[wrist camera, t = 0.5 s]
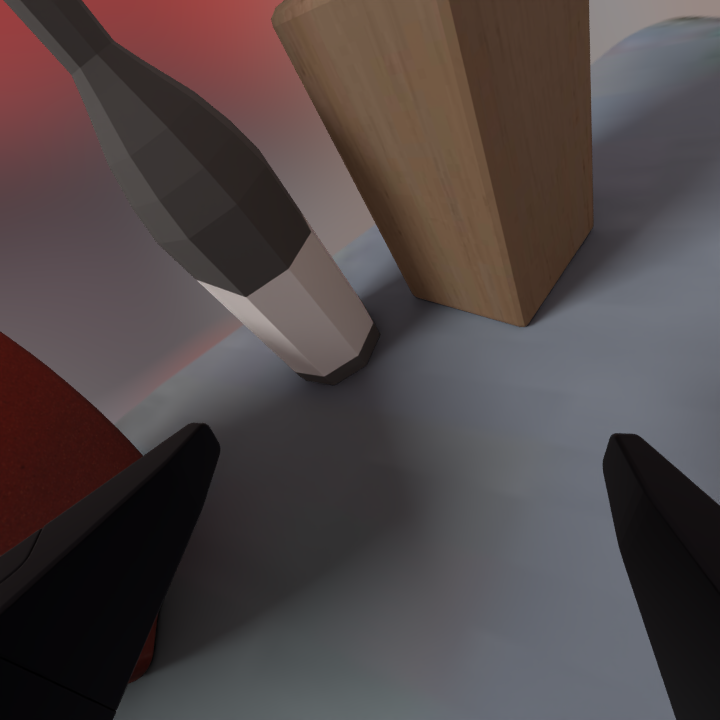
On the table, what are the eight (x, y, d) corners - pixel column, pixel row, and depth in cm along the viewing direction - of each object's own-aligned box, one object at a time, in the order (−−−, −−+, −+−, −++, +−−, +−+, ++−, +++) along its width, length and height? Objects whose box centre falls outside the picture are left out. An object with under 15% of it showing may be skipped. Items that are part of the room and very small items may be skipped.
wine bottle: (400, 328, 31) (-44, -396, 10) (332, 405, 30) (-347, -233, 8) (342, 298, 37) (-22, -205, 15) (283, 362, 35) (-203, -89, 14)
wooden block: (475, 215, 35) (387, -94, 20) (596, 226, 28) (590, -222, 14) (412, 298, 32) (263, 17, 18) (526, 332, 26) (433, -72, 12)
